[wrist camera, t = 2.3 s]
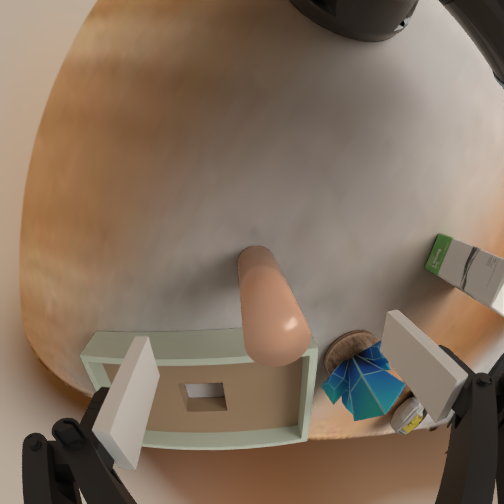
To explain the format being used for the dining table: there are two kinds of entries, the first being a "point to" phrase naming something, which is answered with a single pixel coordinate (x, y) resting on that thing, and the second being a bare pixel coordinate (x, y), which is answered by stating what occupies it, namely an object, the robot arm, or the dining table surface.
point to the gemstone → (360, 376)
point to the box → (213, 371)
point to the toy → (408, 415)
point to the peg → (269, 311)
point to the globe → (497, 368)
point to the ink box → (469, 271)
